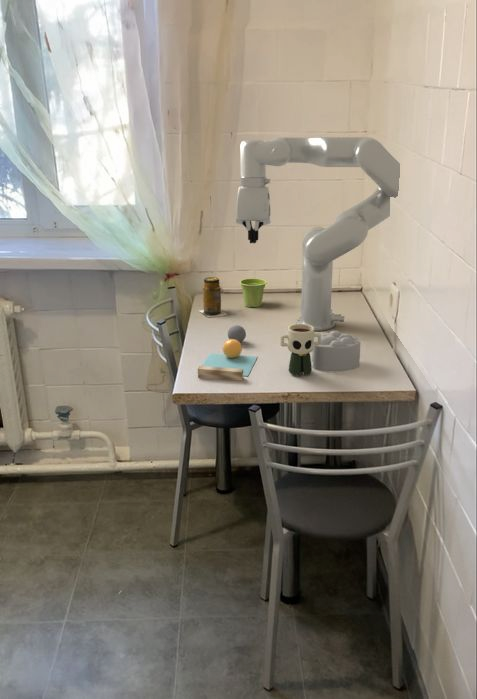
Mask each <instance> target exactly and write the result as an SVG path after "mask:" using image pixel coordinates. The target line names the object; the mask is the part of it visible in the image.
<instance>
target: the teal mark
mask: <svg viewBox="0 0 477 699" xmlns="http://www.w3.org/2000/svg"><path fill="white" fill-rule="evenodd" d="M257 359H258V356H256V355H243V354H242V355H241V354H240V355H239V356H238V357H236V358H228V357H227V356H226V355H225V354H224V353H213V352H212V353H211V352H210V353H209V354H208V356H207V357H206V359H205V360H204V362H203V363H202V365H201V366H207V367H221V368H234V369H243V377H249V375H250V372H251V370H252V369H253V367H254V365H255V363H256V360H257ZM196 372H197V374H198V371H196Z"/></svg>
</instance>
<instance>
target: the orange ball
mask: <svg viewBox="0 0 477 699" xmlns="http://www.w3.org/2000/svg"><path fill="white" fill-rule="evenodd" d="M242 349H243V348H242V343H240V342H239V341H237V340H235V339H230V340H229V339H228V340H226V341H225V342H224V343H223V345H222V352H223V353H222V354H225V355H226V356H227V357H228V358H236V357H238V356H239V355H241V353H242V351H243V350H242Z"/></svg>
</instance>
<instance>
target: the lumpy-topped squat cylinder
mask: <svg viewBox="0 0 477 699" xmlns="http://www.w3.org/2000/svg"><path fill="white" fill-rule="evenodd" d="M320 334H321V344H320V345H314V349H313V351H312V353H311V354H312V355H311V363H312V369H314V370H316V371H319V372H320V371H321V372H333V373H335V372H340V373H341V372H348V371H353V370H356V369H357V368H359V367H360V360H361V358H360V357H361V340H360V339H359V338H357V337H354V336H352V335H351V334H349V333H341V332H340V331H339V330H331V331H330V332H329V333H324V332H323V333H320ZM317 341H318V337H314V342H317Z"/></svg>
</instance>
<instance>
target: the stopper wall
mask: <svg viewBox="0 0 477 699" xmlns="http://www.w3.org/2000/svg"><path fill="white" fill-rule="evenodd" d="M197 372H198V373H197V377H198V378H202V379H215V380H225V381H226V380H227V381H240V382H241V381H243V379H244V376H243V369H234V368H221V367H207V366H202V365H199V367H197Z"/></svg>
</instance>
